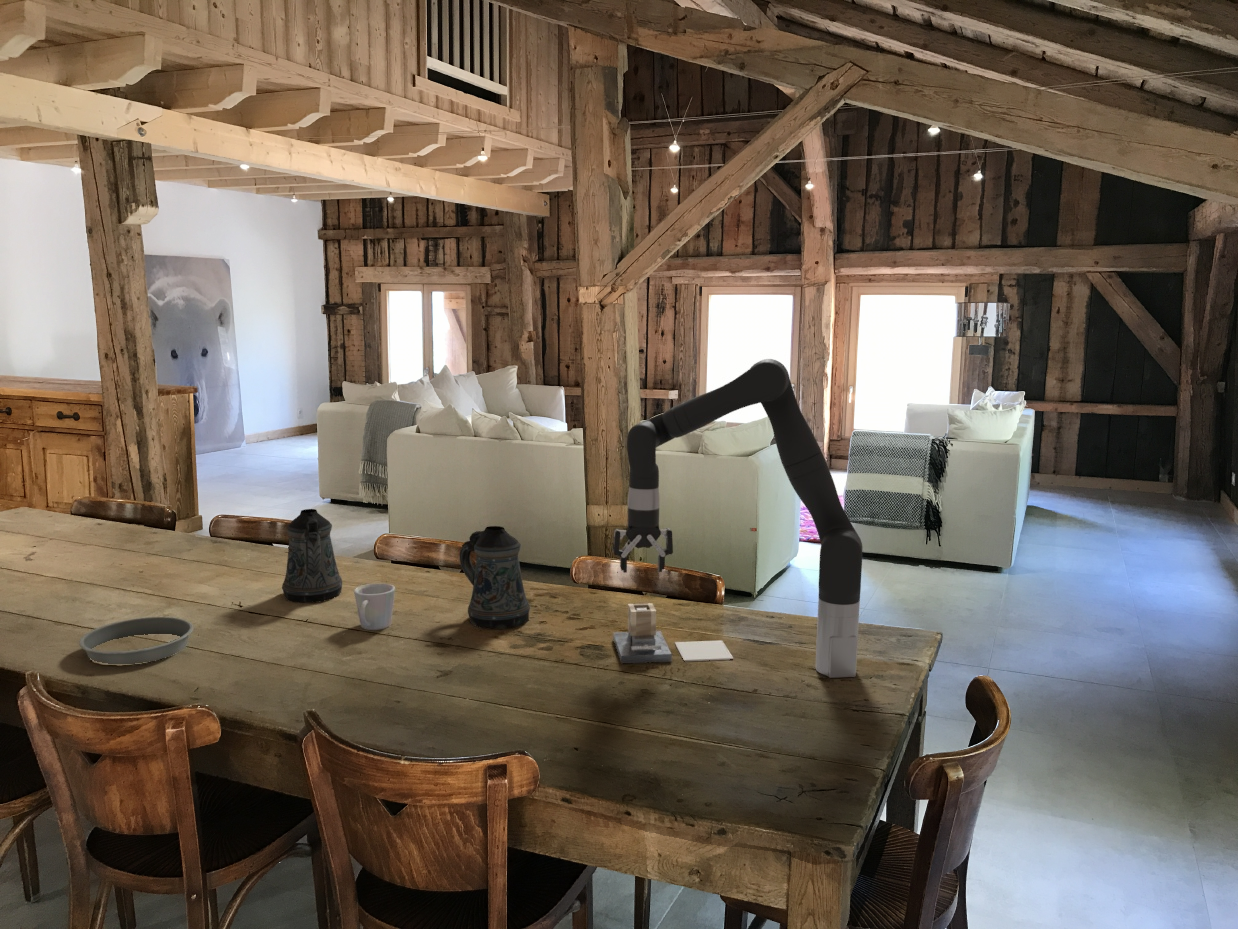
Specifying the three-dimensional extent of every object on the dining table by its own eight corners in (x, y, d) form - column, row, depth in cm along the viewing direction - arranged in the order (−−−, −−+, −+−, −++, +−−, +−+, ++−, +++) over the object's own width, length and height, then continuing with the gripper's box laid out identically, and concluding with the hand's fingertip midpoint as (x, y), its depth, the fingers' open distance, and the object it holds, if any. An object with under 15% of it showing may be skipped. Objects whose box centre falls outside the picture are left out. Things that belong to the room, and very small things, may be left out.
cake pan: (57, 658, 222) (55, 640, 221) (151, 627, 244) (150, 610, 243) (124, 677, 211) (122, 658, 210) (216, 643, 232) (215, 626, 232)
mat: (733, 659, 224) (733, 658, 224) (683, 661, 222) (683, 659, 222) (721, 642, 236) (722, 640, 235) (674, 643, 234) (674, 642, 234)
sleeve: (655, 635, 226) (656, 611, 225) (631, 635, 225) (631, 611, 224) (651, 626, 232) (652, 603, 231) (627, 627, 231) (628, 603, 230)
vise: (671, 662, 222) (672, 619, 220) (621, 664, 221) (621, 621, 219) (660, 638, 238) (660, 598, 236) (613, 640, 236) (613, 600, 234)
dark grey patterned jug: (321, 582, 283) (317, 501, 279) (360, 595, 271) (357, 511, 267) (271, 595, 270) (266, 510, 266) (309, 609, 258) (305, 520, 254)
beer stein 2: (526, 630, 243) (525, 536, 239) (451, 629, 243) (449, 535, 239) (533, 610, 259) (532, 521, 255) (463, 609, 260) (461, 520, 255)
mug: (401, 619, 250) (400, 583, 249) (382, 639, 236) (381, 600, 234) (363, 618, 251) (362, 582, 250) (342, 637, 237) (340, 599, 235)
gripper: (615, 509, 219) (614, 576, 221) (675, 508, 220) (674, 575, 223) (611, 502, 226) (611, 567, 229) (670, 501, 228) (668, 566, 230)
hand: (642, 571), depth 226 cm, fingers open, 8 cm apart
